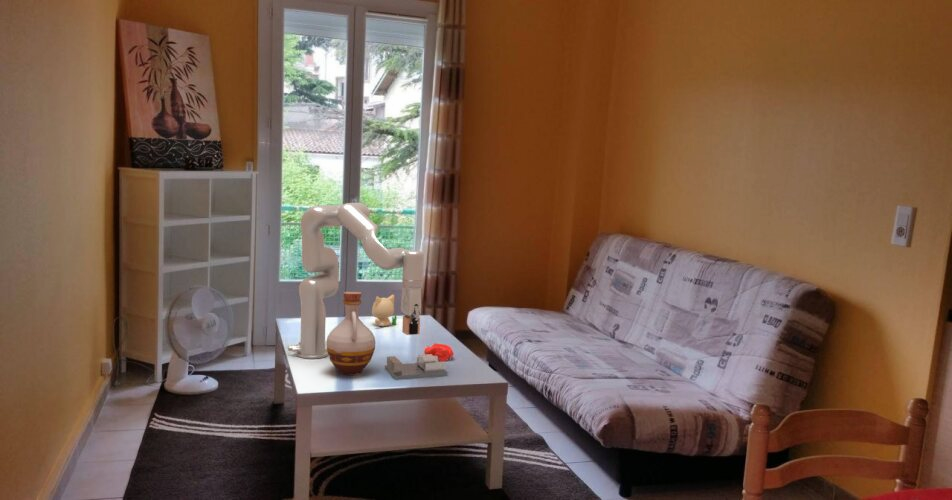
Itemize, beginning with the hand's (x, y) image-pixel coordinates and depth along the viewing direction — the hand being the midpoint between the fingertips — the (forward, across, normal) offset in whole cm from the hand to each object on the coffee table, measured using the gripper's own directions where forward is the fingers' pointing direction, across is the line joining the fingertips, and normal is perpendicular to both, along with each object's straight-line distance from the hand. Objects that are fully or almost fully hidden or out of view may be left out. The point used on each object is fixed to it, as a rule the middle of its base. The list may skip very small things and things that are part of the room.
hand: (410, 331), depth 264 cm
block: (+1, 0, 0) cm, 1 cm away
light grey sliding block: (+14, 0, +7) cm, 15 cm away
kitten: (+16, -76, +13) cm, 78 cm away
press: (+16, 0, +2) cm, 16 cm away
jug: (+16, -6, -21) cm, 27 cm away
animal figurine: (+16, -18, +18) cm, 31 cm away
